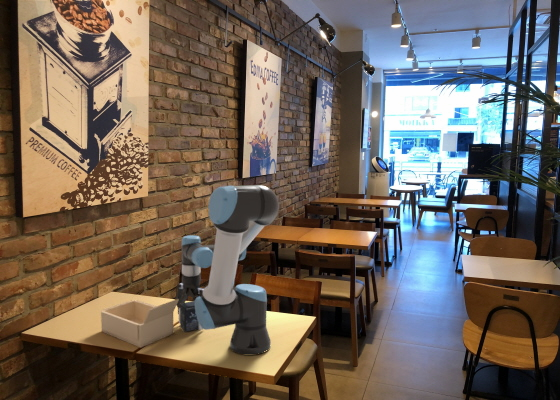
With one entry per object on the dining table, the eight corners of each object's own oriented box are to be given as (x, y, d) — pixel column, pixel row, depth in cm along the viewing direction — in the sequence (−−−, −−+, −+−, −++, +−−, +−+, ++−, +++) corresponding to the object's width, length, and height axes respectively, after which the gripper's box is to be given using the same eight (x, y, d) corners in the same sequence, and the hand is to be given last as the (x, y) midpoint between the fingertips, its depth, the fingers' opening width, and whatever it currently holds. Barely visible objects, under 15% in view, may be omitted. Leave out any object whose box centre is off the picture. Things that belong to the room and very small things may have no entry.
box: (185, 332, 178) (184, 307, 177) (180, 327, 183) (179, 303, 182) (203, 328, 182) (203, 303, 181) (197, 323, 187) (197, 299, 186)
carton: (174, 332, 178) (174, 311, 177) (139, 348, 164) (138, 325, 163) (135, 318, 191) (134, 299, 190) (99, 331, 177) (98, 310, 176)
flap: (173, 312, 175) (179, 299, 172) (144, 323, 163) (150, 310, 161) (172, 311, 175) (178, 298, 172) (143, 322, 163) (149, 309, 161)
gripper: (218, 276, 177) (218, 329, 179) (178, 267, 190) (178, 316, 192) (205, 281, 170) (205, 335, 173) (164, 270, 183) (165, 321, 186)
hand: (191, 325), depth 183 cm, fingers open, 11 cm apart
